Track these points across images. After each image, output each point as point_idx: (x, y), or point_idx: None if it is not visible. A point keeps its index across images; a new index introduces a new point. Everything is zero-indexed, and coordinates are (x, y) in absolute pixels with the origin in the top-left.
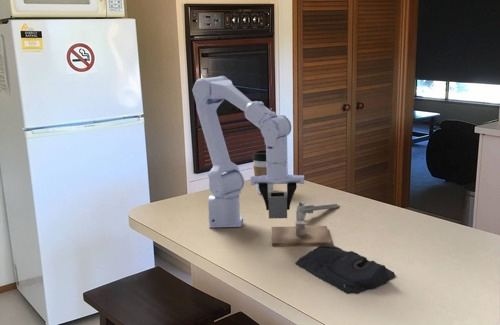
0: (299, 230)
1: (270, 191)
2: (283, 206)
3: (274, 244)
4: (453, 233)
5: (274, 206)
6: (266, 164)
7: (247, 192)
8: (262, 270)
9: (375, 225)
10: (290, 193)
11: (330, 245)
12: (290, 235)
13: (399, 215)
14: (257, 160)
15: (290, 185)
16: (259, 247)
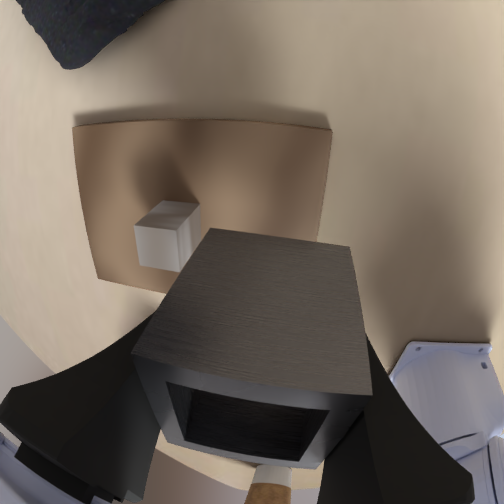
0: (174, 213)
1: (262, 467)
2: (208, 288)
3: (318, 129)
4: None
5: (301, 304)
6: None
7: (311, 472)
8: None
9: (16, 266)
10: (86, 384)
11: (66, 48)
12: (226, 212)
13: (3, 303)
14: None
15: (55, 463)
16: (393, 128)
